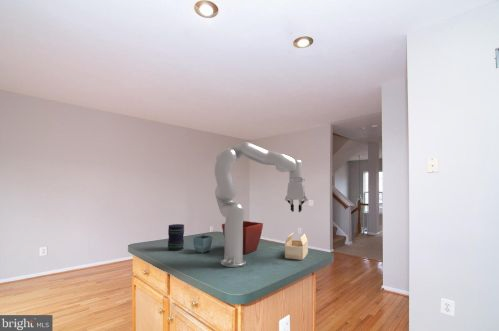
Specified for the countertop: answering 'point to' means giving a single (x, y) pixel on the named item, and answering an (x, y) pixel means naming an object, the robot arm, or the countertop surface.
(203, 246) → the flower pot
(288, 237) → the flap left
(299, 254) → the carton
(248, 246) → the plant pot
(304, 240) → the flap right
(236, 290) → the countertop surface
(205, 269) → the countertop surface
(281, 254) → the countertop surface
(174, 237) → the storage jar
